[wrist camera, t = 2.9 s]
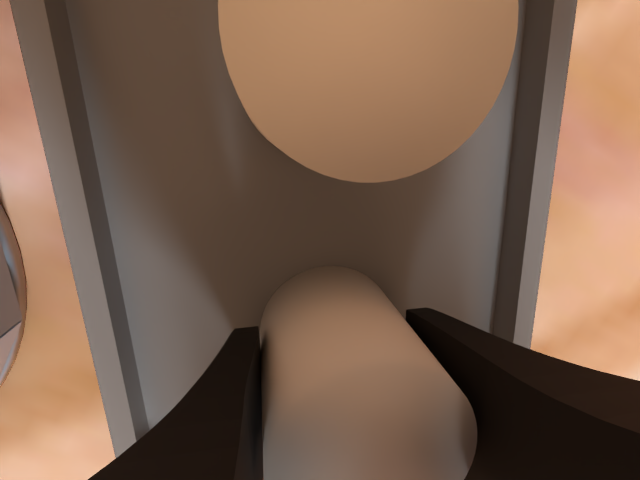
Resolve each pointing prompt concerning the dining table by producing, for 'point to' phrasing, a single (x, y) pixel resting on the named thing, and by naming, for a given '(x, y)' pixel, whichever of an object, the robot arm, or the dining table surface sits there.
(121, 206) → the parts tray
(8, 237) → the bowl
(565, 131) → the dining table surface
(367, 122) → the beige rounded cylinder
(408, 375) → the tan rounded cylinder
